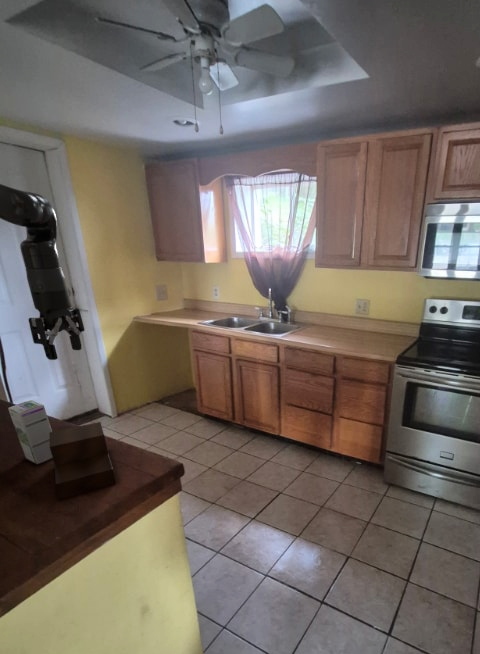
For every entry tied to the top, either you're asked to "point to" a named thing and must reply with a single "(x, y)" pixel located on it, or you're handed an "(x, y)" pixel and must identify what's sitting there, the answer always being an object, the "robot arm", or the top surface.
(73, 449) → the shelf riser
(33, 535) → the top surface
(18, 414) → the syrup box
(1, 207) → the robot arm
